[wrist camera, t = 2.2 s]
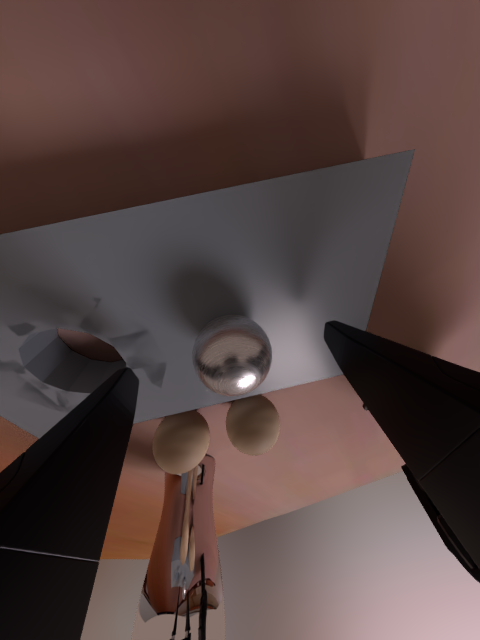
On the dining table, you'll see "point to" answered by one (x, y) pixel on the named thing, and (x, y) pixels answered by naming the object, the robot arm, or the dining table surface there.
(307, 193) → the plate
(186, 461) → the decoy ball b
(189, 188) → the dining table surface
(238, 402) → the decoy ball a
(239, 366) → the steel ball
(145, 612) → the beer glass
